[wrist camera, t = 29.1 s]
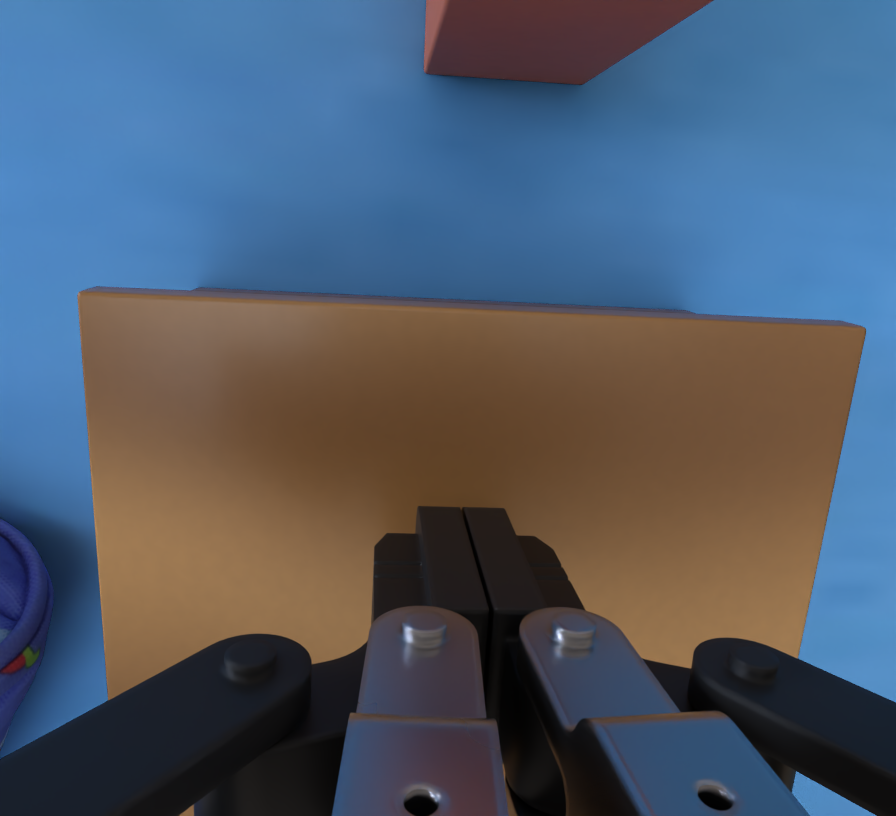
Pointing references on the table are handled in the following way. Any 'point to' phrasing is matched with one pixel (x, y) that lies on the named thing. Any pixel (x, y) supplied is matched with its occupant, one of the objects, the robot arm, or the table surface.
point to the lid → (451, 461)
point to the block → (542, 36)
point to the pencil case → (20, 619)
